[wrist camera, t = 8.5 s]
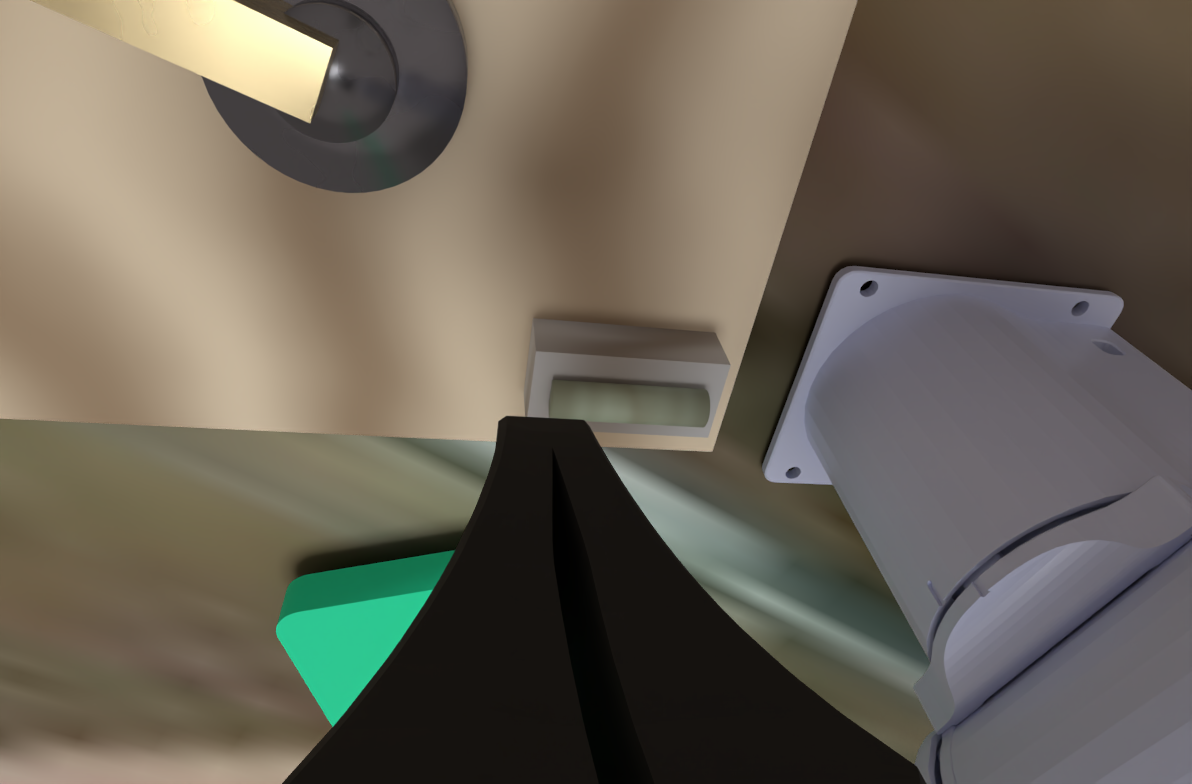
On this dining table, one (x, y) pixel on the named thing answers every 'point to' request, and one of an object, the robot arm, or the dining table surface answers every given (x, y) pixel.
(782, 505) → the dining table surface
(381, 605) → the camera mount
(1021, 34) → the dining table surface
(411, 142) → the bar with round base
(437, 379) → the base plate
